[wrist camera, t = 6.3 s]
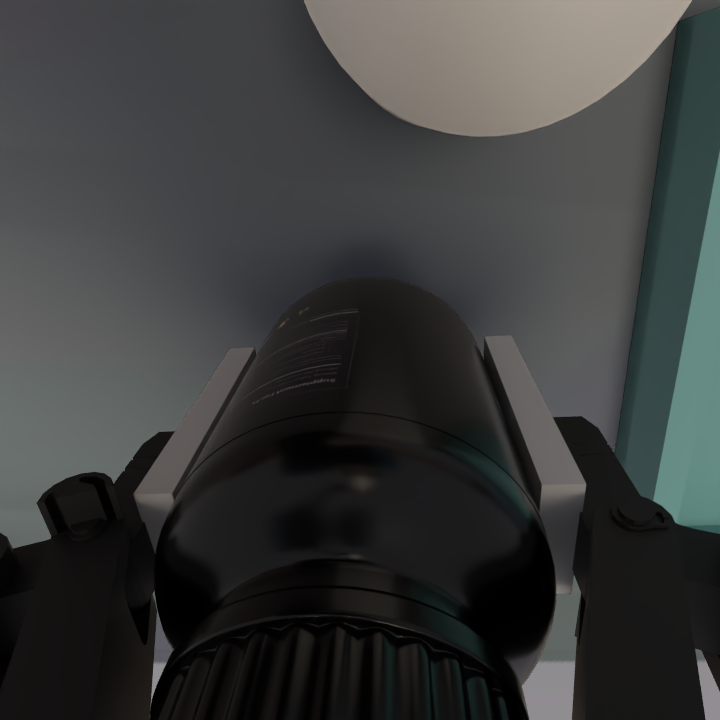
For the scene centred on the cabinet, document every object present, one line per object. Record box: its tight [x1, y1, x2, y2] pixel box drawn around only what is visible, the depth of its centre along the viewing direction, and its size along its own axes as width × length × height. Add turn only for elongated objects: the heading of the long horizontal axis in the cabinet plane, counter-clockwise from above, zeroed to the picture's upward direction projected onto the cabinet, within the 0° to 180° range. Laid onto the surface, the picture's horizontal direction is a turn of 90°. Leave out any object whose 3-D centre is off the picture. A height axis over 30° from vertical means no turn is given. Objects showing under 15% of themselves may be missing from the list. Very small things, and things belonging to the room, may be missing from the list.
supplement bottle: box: [150, 277, 556, 720], centre depth 11 cm, size 7×7×12 cm
